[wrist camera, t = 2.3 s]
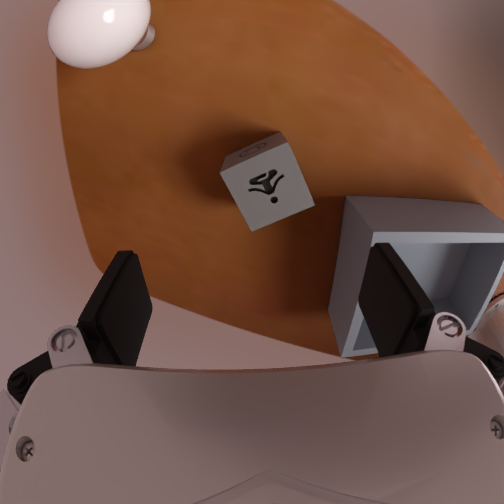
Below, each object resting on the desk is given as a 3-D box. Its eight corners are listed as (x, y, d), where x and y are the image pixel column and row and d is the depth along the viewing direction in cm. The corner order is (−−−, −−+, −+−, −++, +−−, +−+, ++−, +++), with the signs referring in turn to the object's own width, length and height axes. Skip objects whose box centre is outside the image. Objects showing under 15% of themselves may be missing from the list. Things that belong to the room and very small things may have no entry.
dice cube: (280, 131, 22) (288, 142, 18) (303, 183, 24) (315, 205, 20) (225, 156, 23) (219, 172, 19) (251, 205, 25) (251, 231, 21)
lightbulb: (165, 76, 19) (102, 71, 10) (100, 67, 18) (15, 69, 9) (190, 9, 16) (146, -43, 7) (121, 3, 15) (48, -30, 5)
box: (481, 204, 25) (518, 233, 19) (447, 298, 32) (471, 334, 26) (345, 195, 25) (373, 231, 19) (327, 310, 32) (340, 357, 26)
